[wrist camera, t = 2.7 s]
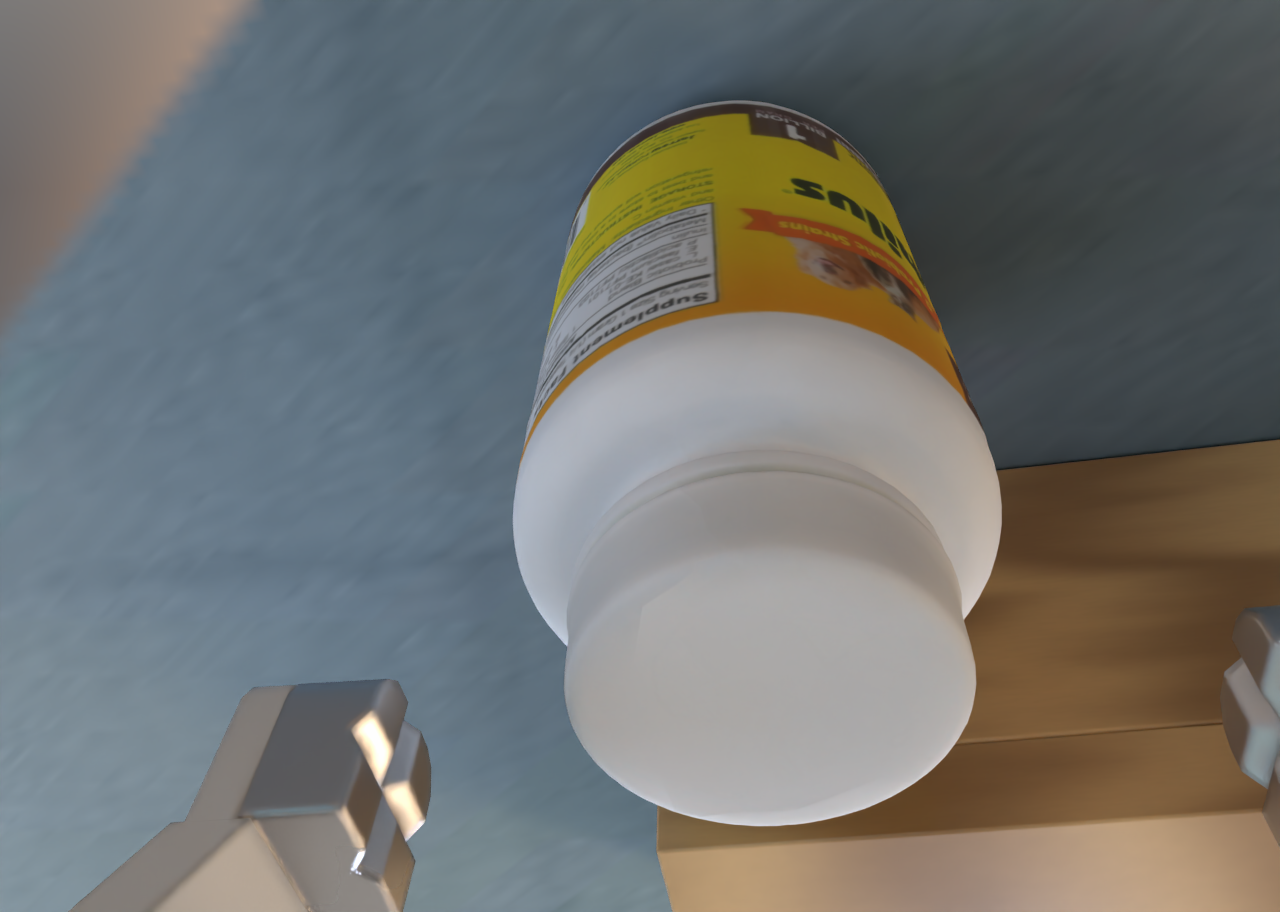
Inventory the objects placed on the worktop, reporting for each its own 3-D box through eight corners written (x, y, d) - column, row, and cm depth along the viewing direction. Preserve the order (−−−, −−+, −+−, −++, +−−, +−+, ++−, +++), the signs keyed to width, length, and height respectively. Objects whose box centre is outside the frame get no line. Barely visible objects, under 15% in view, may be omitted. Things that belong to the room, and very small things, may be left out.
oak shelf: (739, 889, 30) (755, 1233, 23) (663, 505, 22) (655, 864, 15) (1429, 845, 28) (1662, 1211, 21) (1629, 398, 20) (2110, 767, 13)
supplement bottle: (944, 295, 19) (1151, 779, 11) (676, 429, 21) (671, 928, 12) (799, 13, 16) (922, 369, 8) (504, 196, 18) (353, 637, 10)
